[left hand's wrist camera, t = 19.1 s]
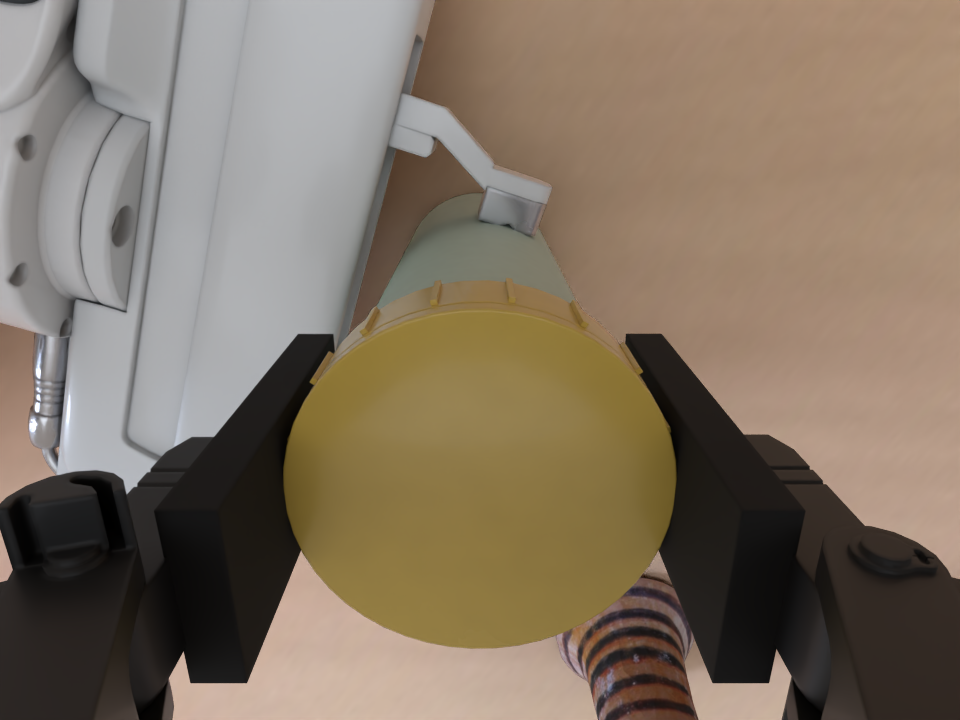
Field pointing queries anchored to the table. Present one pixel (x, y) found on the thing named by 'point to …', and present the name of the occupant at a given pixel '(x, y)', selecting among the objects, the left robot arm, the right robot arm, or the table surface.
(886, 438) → the table surface
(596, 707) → the figurine
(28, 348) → the table surface
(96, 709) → the left robot arm
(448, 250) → the jar
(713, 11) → the table surface
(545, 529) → the lid
